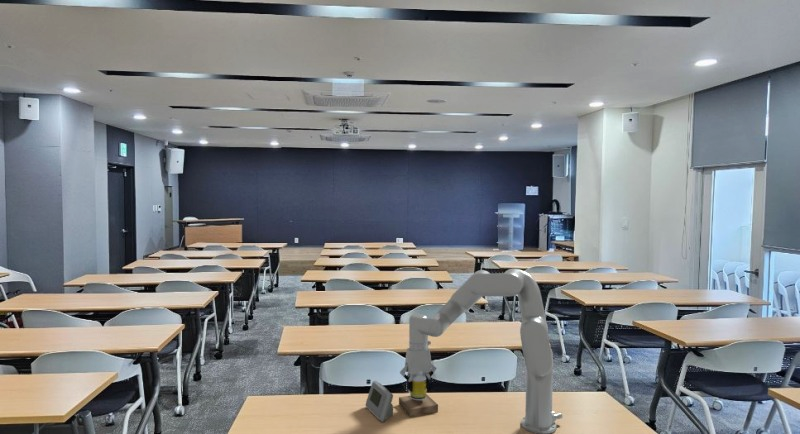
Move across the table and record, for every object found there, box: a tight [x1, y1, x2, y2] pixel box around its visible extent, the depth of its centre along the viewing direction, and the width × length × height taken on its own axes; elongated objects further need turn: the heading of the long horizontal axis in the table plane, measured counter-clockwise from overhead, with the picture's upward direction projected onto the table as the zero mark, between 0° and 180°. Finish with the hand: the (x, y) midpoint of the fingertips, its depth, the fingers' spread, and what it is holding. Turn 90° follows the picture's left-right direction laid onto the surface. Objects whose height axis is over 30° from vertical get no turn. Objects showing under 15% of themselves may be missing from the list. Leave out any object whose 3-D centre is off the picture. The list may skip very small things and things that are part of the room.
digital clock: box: [365, 380, 394, 423], centre depth 182 cm, size 16×9×11 cm, turn 16°
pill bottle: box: [409, 371, 427, 400], centre depth 187 cm, size 6×6×12 cm
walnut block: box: [398, 393, 439, 418], centre depth 187 cm, size 12×12×3 cm
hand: (418, 388), depth 187 cm, fingers closed on pill bottle, 6 cm apart
